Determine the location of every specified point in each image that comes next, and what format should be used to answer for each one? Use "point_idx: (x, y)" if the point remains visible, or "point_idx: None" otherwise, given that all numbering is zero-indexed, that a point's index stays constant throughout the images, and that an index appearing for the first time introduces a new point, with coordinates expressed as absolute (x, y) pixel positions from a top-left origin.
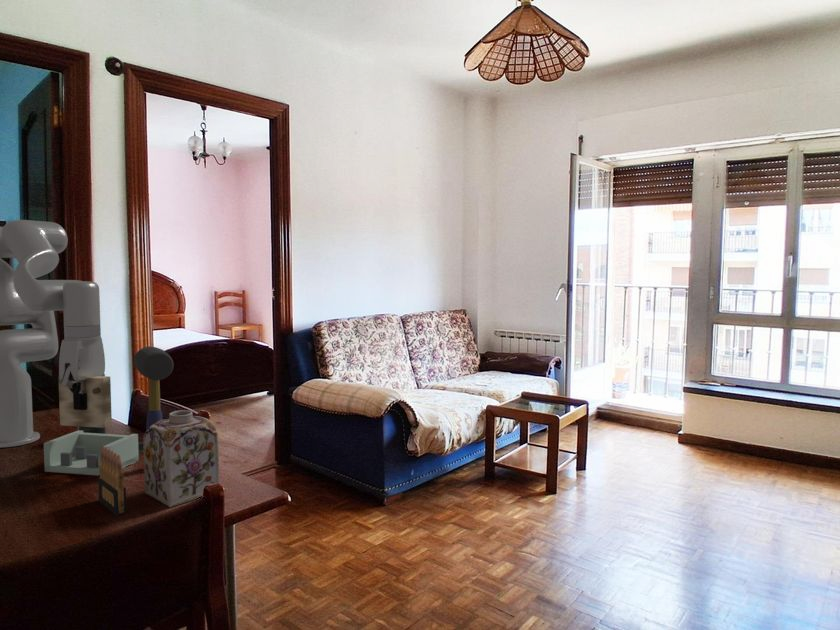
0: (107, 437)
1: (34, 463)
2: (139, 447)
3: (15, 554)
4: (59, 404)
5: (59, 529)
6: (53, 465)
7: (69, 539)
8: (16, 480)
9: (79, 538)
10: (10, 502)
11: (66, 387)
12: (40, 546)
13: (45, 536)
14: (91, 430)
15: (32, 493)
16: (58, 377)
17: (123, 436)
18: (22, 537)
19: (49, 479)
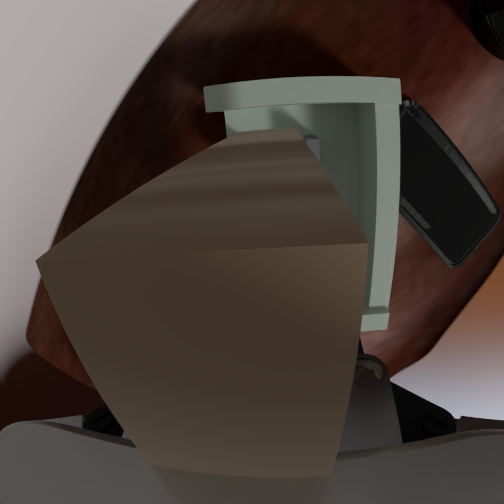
0: (374, 230)
1: (275, 5)
2: (456, 223)
3: (29, 341)
4: (213, 145)
5: (71, 348)
6: (230, 118)
7: (69, 370)
8: (150, 86)
9: (76, 377)
10: (70, 206)
11: (70, 419)
12: (47, 353)
13: (56, 344)
14: (499, 37)
15: (110, 205)
16: (53, 249)
17: (376, 289)
18: (40, 323)
19: (182, 161)
